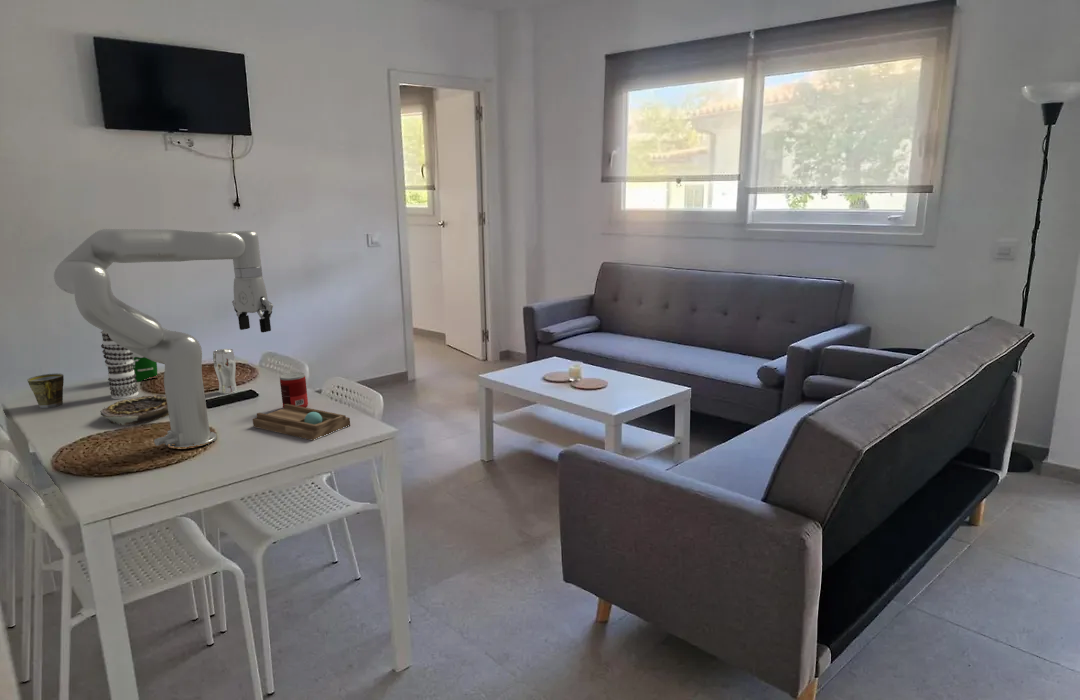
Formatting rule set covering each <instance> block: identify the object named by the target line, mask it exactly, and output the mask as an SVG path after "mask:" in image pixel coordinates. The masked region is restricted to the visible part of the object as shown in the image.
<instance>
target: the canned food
mask: <svg viewBox="0 0 1080 700" xmlns="http://www.w3.org/2000/svg"><path fill="white" fill-rule="evenodd" d="M279 384H280V386H279V387H280V394H281V401H282V403H281V404H282V407H283V408H282V409H284V404H290V405H295V406H300V407H305V408H308V405H309V401H308V400H309V399H308V390H307V389H308V388H307V379H306V374H305V372H300V371H296V372H288V373H284V374H281V375H280V376H279Z"/></svg>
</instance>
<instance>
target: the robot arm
mask: <svg viewBox="0 0 1080 700" xmlns="http://www.w3.org/2000/svg"><path fill="white" fill-rule="evenodd" d="M260 253H261V250H260V242H259V235H258V233H257V232H256V231H253V230H236V231H193V230H192V231H190V230H189V231H188V230H183V229H182V230H181V229H168V228H167V229H165V228H164V229H158V228H157V229H153V228H151V229H149V228H147V229H145V228H144V229H143V228H142V229H141V228H140V229H135V228H134V229H133V228H129V229H128V228H102V229H99V230H97V231H95V232H93V233H91V235H90V236H88V237H87V238H86V239H85V240H84V241H83V242H82V243H81V244H79V245H78V246H77V247H76V248H75V249H74V250H73V251H72V252H70V253H69V254H68V255H67V256H65V258H63V260H61V261H60V263H58V265H57V266H56V268H55V269H54V272H53V281H54V283H55V285H56V286H57V287H58V288H59V289H60V290H61V291H63V292H64V293H68V294H72V295H74V301H75V305H76V308H77V309H78V311H79V314H80V315H81V316H82V318H83V319H84V320H85V321H86V322H87V323H89V324H91V325H92V326H93V327H95V328H98V329H99V330H101V331H105V332H107V333H108V335H109V336H110V338H111V339H112V340H113V341H114V342H115V343H117V344H118V345H120V346H122V347H124V348H126V349H128V350H130V351H132V352H135V353H137V354H139V355H141V356H143V357H145V358H147V359H150V360H152V361H154V362H157V363H158V364H162V365H164V373H163V386H164V392H165V393H164V395H166V400H167V406H168V413H169V415H168V417H169V418H168V419H169V426H170V429H169V430H167V433H166V434H165V435H164V436H163V437H161V436H160V437H158V438H154V440H153V441H154V442H153V443H154V445H155V446H156V447H157V446H160V445H166V446H167V445H168V444H170V446H174V447H189V446H196V445H200V444H205V443H208V442H211V441H214V442H215V441H216V440H217V438H218V437H217V433H216V432H213V431H211V430H210V423H209V417H208V416H209V415H208V410H207V403H206V396H205V388H204V382H203V370H202V364H203V350H202V346H201V344H200V342H199V341H198V339H197V338H196V337H195V336H193V335H191V334H189V333H186V332H181V331H176V330H175V331H174V330H170V329H167V328H164V327H163V326H162V324H161V323H160V322H159V321H158V320H157V319H156V318H154V317H153V316H152V315H149V314H146V313H145V312H142V311H140V310H138V309H136V308H134V307H133V306H130V305H128V304H126V302H123V301H121V300H120V299H119V298H117V297H116V296H115V295H114V293H113V291H112V287H111V286H112V284H111V277H110V275H109V273H108V271H107V269H108V268H109V267H110V266H112V264H113V263H120V264H135V263H136V264H137V263H140V264H141V263H169V262H171V263H173V262H175V263H176V262H190V261H215V260H218V261H219V260H224V261H225V260H232V263H233V271H234V279H233V300H232V301H231V303H232V307H233V308H234V311H235V313H236V316H237V320H238V326H239V327H238V328H239V330H240V331H242V330H243V331H244V330H249V329H250V327H251V325H250V318H249V317H250V316H249V315H248V313H249V314H250V313H251V314H254V313H255V314H256V313H257V315H258V316H259V319H258V321H259V329H260V332H261V333H267V332H271V331H272V326H271V317H272V313H273V308H274V305H273V303H272V302H271V301H269V300H268V294H267V288H266V284H265V280H264V277H263V269H262V260H261V254H260ZM172 444H175V445H172ZM193 444H194V445H193Z"/></svg>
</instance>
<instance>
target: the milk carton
mask: <svg viewBox="0 0 1080 700" xmlns="http://www.w3.org/2000/svg"><path fill="white" fill-rule="evenodd" d="M130 352H132V351H130ZM132 353H133V354H132V355H131V356H132V357H133V359H131V360H133V361H134V362H133V363H132V365H133V370H134V373H135V375H136V377H135V379H137V381H136V383H140V382H143V381H142V380H144V379H147V378H149V377H153V376H156V375H157V376H158V364H157V362H154V361H152V360H150V359H147V358H145V357H143V356H141V355H139V354H137V353H135V352H132Z"/></svg>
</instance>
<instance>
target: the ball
mask: <svg viewBox="0 0 1080 700" xmlns="http://www.w3.org/2000/svg"><path fill="white" fill-rule="evenodd" d="M304 421H305V423H310V424H314V425H315V424H318V423H321V422H322V417H321V415H320V414H319V413H317V412H310V413H308V414H307V415H306V416H305V420H304Z"/></svg>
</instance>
